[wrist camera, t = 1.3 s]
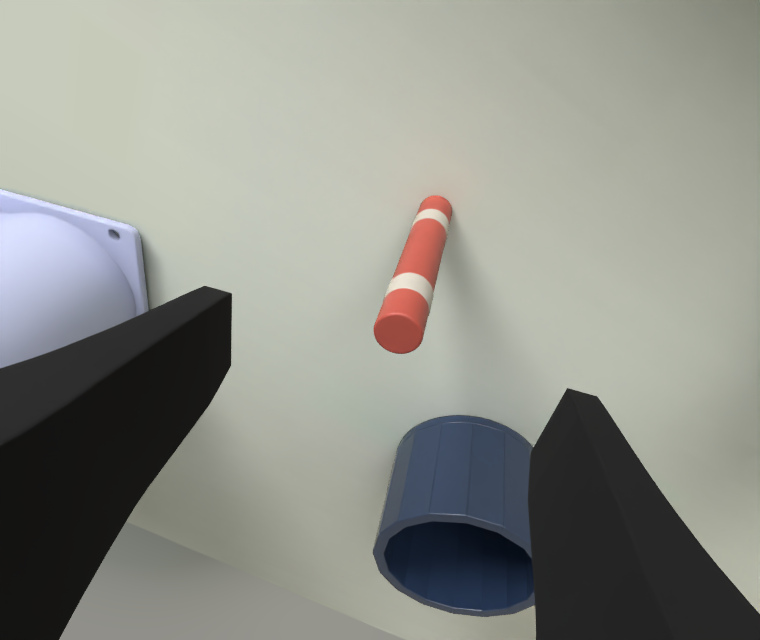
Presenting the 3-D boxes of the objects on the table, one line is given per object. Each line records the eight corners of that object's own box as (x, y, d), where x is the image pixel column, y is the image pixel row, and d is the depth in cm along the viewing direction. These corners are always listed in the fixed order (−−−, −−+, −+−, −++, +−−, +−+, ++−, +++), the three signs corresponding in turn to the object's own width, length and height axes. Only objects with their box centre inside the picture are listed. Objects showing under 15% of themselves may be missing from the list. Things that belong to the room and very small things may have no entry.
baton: (415, 221, 19) (368, 347, 12) (423, 190, 18) (377, 307, 11) (447, 230, 19) (416, 361, 12) (456, 199, 18) (429, 321, 11)
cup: (384, 489, 28) (361, 585, 23) (413, 397, 24) (392, 493, 19) (512, 528, 27) (514, 633, 23) (566, 441, 23) (580, 550, 19)
